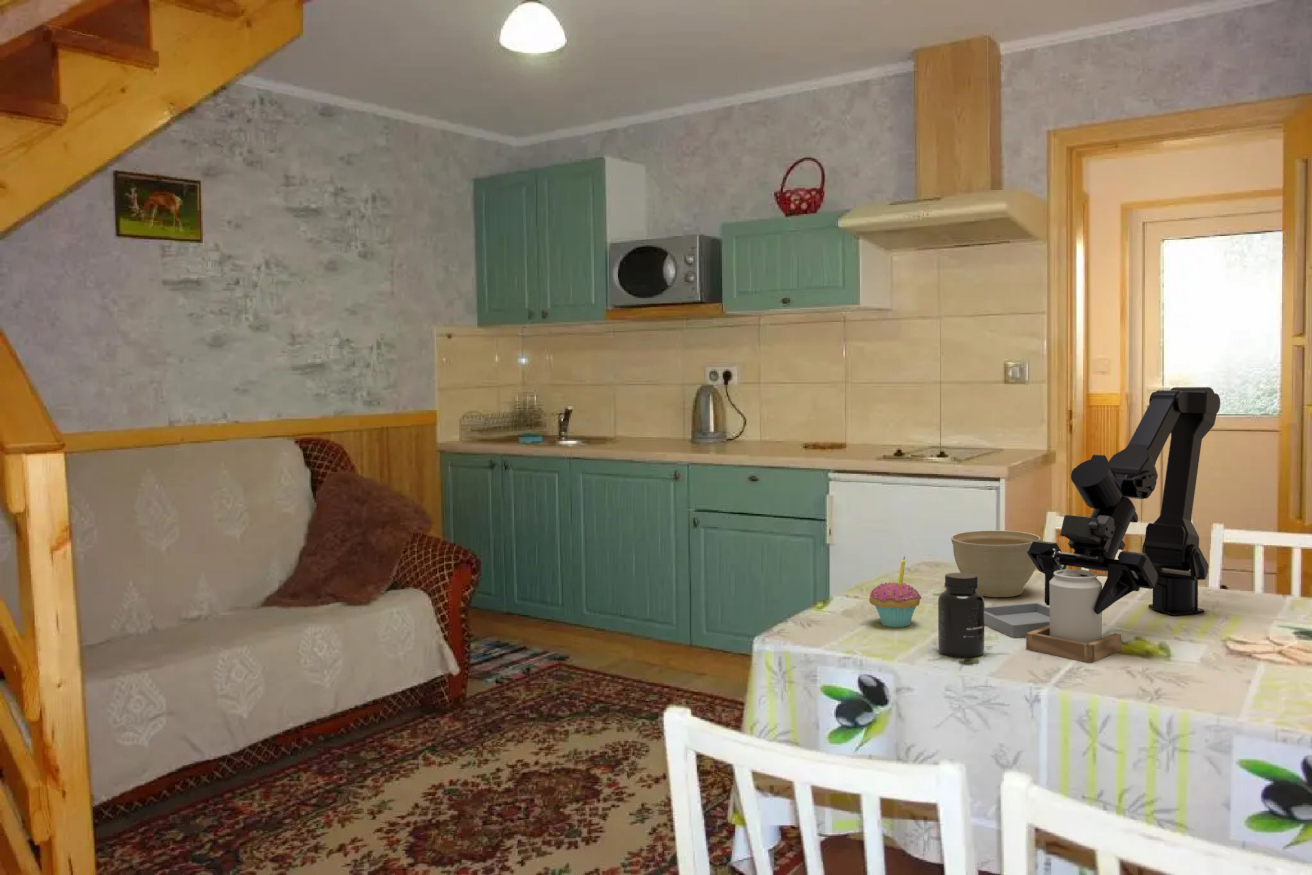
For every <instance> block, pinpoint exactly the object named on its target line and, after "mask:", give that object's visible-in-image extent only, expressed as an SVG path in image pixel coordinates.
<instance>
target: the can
mask: <svg viewBox="0 0 1312 875" xmlns="http://www.w3.org/2000/svg"><path fill="white" fill-rule="evenodd" d="M1054 575H1055V576H1054V577H1053V578H1052V579H1051V580H1050V581H1049V585H1050V605H1049V606H1050V636H1053V637H1058V638H1063V639H1068V640H1073V641H1078V642H1083V643H1090V642H1093V641H1096V640H1098V639H1101V638H1103V611H1102V612H1101V613H1100V614H1096V613H1095V611H1094V608H1095V604H1096V601H1097V599H1098V597H1099V595H1100V593H1101V590H1102V588H1103V584H1102V582H1101V581H1100V580H1099V579H1098V578H1097V577H1098V573H1096V572H1095V571H1093V570H1092V571H1091V570H1088V569H1074V568H1071V569H1067V568H1066V569H1065V570H1058V571H1055V572H1054Z"/></svg>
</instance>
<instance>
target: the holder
mask: <svg viewBox="0 0 1312 875" xmlns="http://www.w3.org/2000/svg"><path fill="white" fill-rule="evenodd" d="M1122 641H1123V638H1122V633H1117V632H1115V633H1111V634H1109V635H1106V636H1104V637H1103V636H1102V638H1101V639H1098V640H1096V641H1093V642H1090V643H1083V642H1078V641H1073V640H1068V639H1063V638H1058V637H1053V636H1050V625H1048V626H1046V627H1043V628H1040V629H1037V630H1034V631H1031V632H1028V633H1026V637H1025V648H1026V650H1028V651H1029V650H1030V651H1033V650H1034V651H1033V652H1040V653H1043V654H1048V655H1052V656H1057V657H1062V658H1067V659H1069V660H1070V659H1071V660H1076V661H1080V662H1085V663H1089V664H1092V663H1094V662H1096V661H1100V660H1102V659H1104V658H1106V657H1108V656H1111V655H1114V654H1116V653H1118V652H1122V650H1123V649H1122V648H1123V647H1122V644H1123V642H1122Z"/></svg>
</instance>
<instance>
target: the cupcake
mask: <svg viewBox="0 0 1312 875" xmlns="http://www.w3.org/2000/svg"><path fill="white" fill-rule="evenodd" d="M905 559H906V555H904V556H903V559H902V560H901V561H900V568H899V576H898V582H885V583H881V584H879V585H877V586H876V587H874V588H873V589H872V590H871V592H870V593H869V594H870V595H869V597H868V598H869V599H868V600H869V603H870V604H871V605H872V606H874V607H875V609H876V610H877V613H878V615H879V619H880V623H881V624H882V625H883V624H884V625H883V626H885V625H886V626H885V627H889V626H891V627H890V628H904V626H905V627H908V626H910V624H911V622H912V617H913V616H914V613H915V610H916V608H917V606H919V605H920V603H921V601H920V600H921V599H922V597H921V594H920V593H919V592H918V590H917V589H915V588H914V587H913V586H912V585H911V586H910V584H907V583H905V582H904V576H905V575H904V574H905V567H906V560H905Z"/></svg>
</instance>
